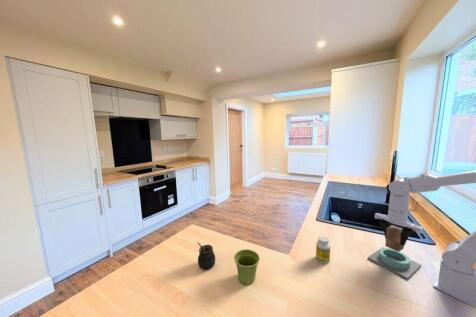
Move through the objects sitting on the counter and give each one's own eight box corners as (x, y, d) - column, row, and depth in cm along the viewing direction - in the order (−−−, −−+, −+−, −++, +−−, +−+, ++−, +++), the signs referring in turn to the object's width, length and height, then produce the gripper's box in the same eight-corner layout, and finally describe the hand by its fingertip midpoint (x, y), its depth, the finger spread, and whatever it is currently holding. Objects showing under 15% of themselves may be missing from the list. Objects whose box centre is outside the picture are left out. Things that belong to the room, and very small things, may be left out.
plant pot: (252, 266, 74) (252, 246, 72) (264, 284, 65) (264, 262, 64) (231, 273, 70) (230, 252, 69) (240, 292, 62) (239, 269, 60)
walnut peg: (403, 248, 72) (405, 229, 71) (398, 251, 70) (400, 232, 69) (390, 242, 76) (391, 224, 75) (385, 246, 74) (386, 227, 73)
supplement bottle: (324, 254, 80) (325, 234, 78) (332, 263, 74) (333, 241, 73) (313, 256, 79) (314, 235, 78) (320, 264, 74) (321, 243, 72)
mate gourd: (212, 274, 70) (211, 250, 69) (194, 271, 72) (192, 248, 70) (218, 261, 77) (216, 239, 76) (201, 259, 79) (200, 238, 77)
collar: (421, 266, 71) (422, 258, 71) (407, 280, 65) (408, 271, 65) (382, 248, 83) (383, 242, 82) (367, 258, 76) (368, 251, 76)
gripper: (427, 213, 67) (423, 247, 68) (381, 201, 79) (378, 230, 81) (420, 218, 63) (416, 254, 65) (373, 205, 76) (370, 235, 77)
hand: (395, 241), depth 73 cm, fingers closed on walnut peg, 4 cm apart
